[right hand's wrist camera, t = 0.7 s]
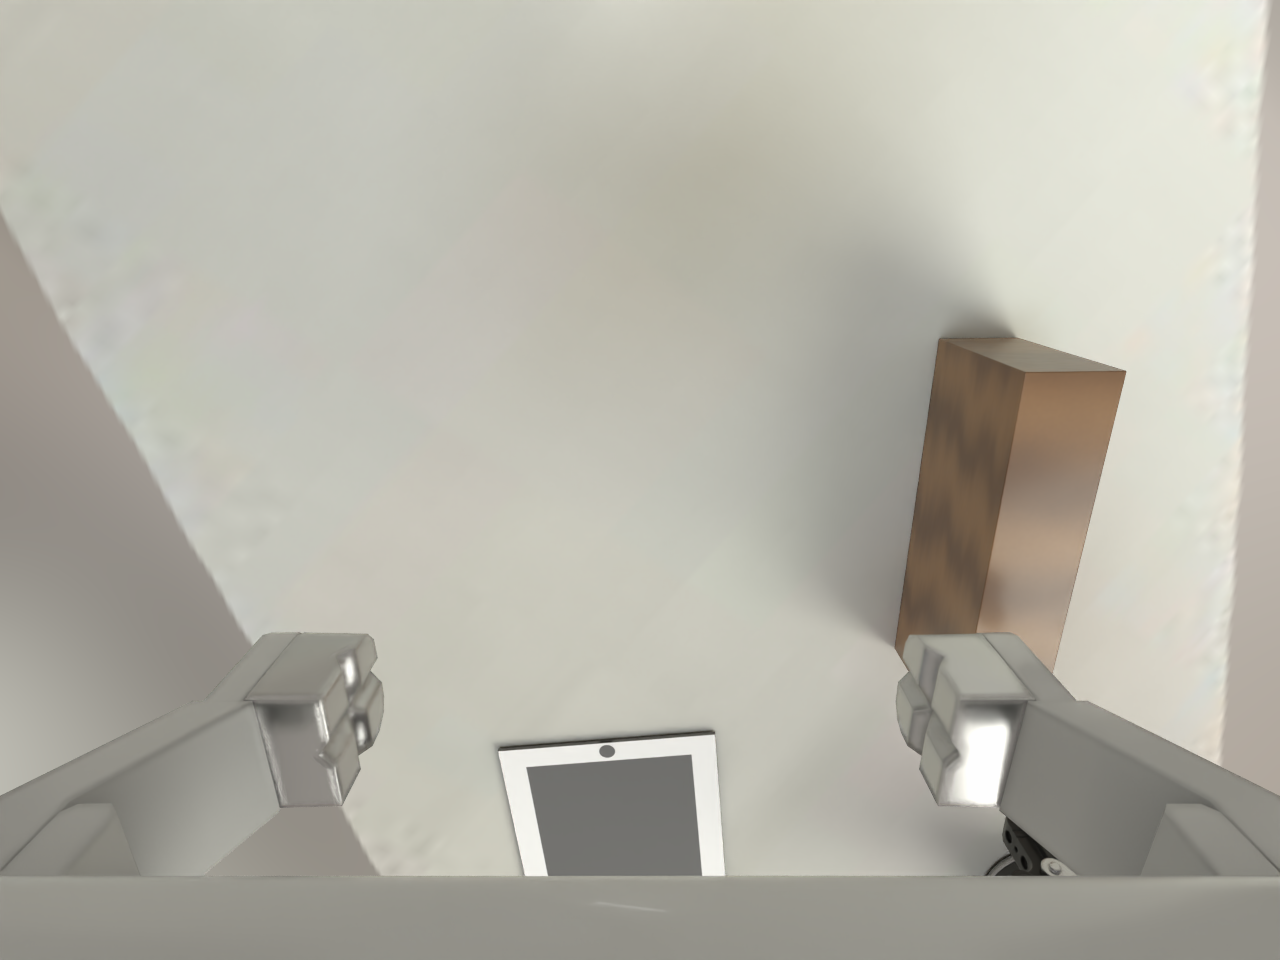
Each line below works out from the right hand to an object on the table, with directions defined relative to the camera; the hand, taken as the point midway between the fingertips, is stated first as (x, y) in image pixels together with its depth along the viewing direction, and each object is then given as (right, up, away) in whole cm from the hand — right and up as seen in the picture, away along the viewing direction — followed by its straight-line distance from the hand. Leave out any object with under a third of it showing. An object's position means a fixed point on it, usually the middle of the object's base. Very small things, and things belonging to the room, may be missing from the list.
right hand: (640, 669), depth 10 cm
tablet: (-2, -36, +58) cm, 68 cm away
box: (+25, +1, +44) cm, 51 cm away
